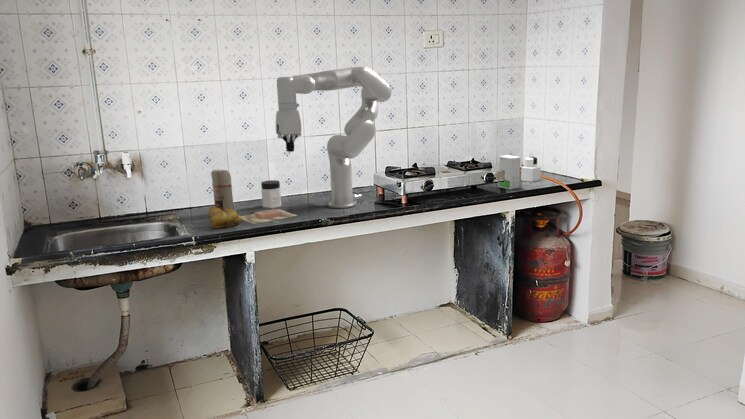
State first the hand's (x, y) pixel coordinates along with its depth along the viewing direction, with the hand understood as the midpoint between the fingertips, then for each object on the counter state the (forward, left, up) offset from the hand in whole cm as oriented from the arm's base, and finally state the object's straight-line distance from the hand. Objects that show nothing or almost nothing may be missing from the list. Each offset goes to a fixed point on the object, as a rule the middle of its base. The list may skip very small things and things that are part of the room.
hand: (290, 151), depth 259 cm
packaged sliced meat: (+13, 0, -27) cm, 30 cm away
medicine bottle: (-127, +22, -27) cm, 132 cm away
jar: (+2, -17, -27) cm, 32 cm away
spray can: (+23, -21, -27) cm, 41 cm away
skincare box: (-105, +27, -27) cm, 112 cm away
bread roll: (+30, -2, -27) cm, 41 cm away
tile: (+8, 0, -25) cm, 26 cm away
